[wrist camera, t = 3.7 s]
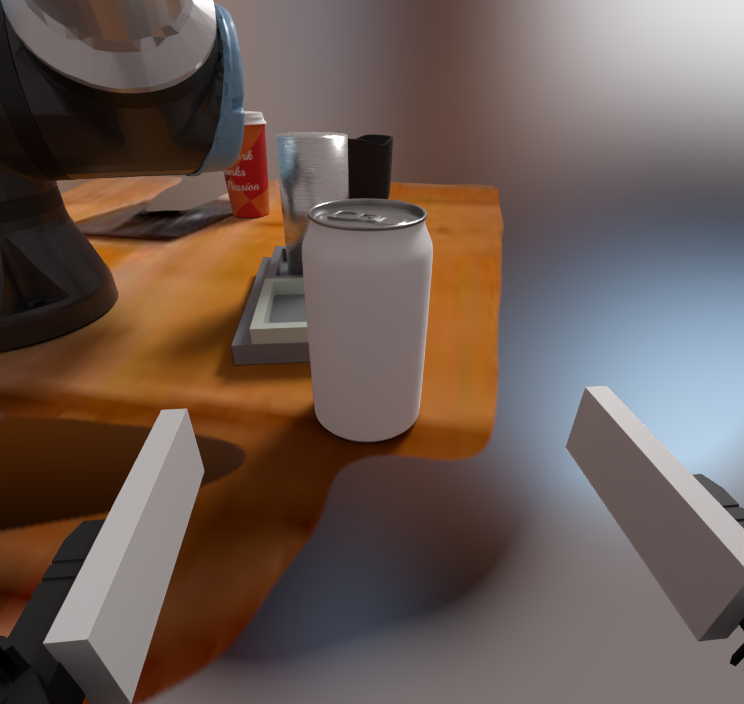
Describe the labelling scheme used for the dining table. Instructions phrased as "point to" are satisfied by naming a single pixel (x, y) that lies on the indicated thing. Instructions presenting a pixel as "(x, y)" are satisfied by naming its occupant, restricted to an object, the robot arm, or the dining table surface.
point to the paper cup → (250, 171)
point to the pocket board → (273, 317)
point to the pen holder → (369, 166)
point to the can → (367, 314)
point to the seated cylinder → (308, 182)
